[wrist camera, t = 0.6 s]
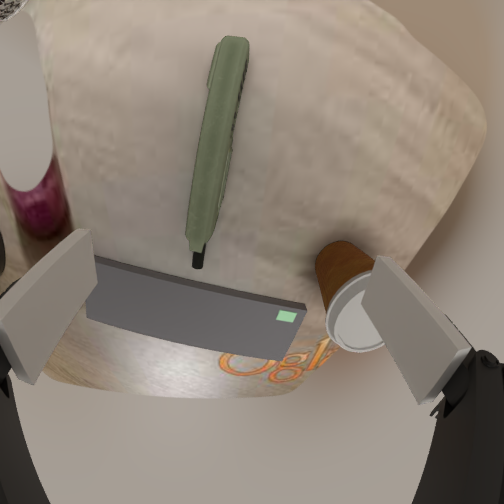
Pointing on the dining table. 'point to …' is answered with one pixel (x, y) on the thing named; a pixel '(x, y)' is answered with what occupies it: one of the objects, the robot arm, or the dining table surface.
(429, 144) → the dining table surface
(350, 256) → the disposable coffee cup
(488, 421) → the robot arm
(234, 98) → the handheld radio
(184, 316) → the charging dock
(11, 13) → the decorative candle
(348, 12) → the dining table surface
